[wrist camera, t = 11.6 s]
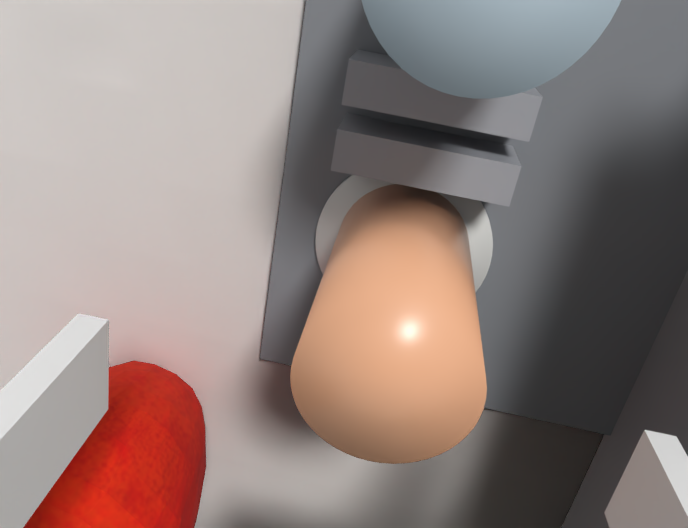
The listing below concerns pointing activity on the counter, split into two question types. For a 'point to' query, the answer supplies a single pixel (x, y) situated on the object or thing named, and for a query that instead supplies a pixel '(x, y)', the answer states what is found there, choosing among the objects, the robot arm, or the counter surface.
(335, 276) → the peg
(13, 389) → the robot arm
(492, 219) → the housing
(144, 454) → the apple
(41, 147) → the counter surface
